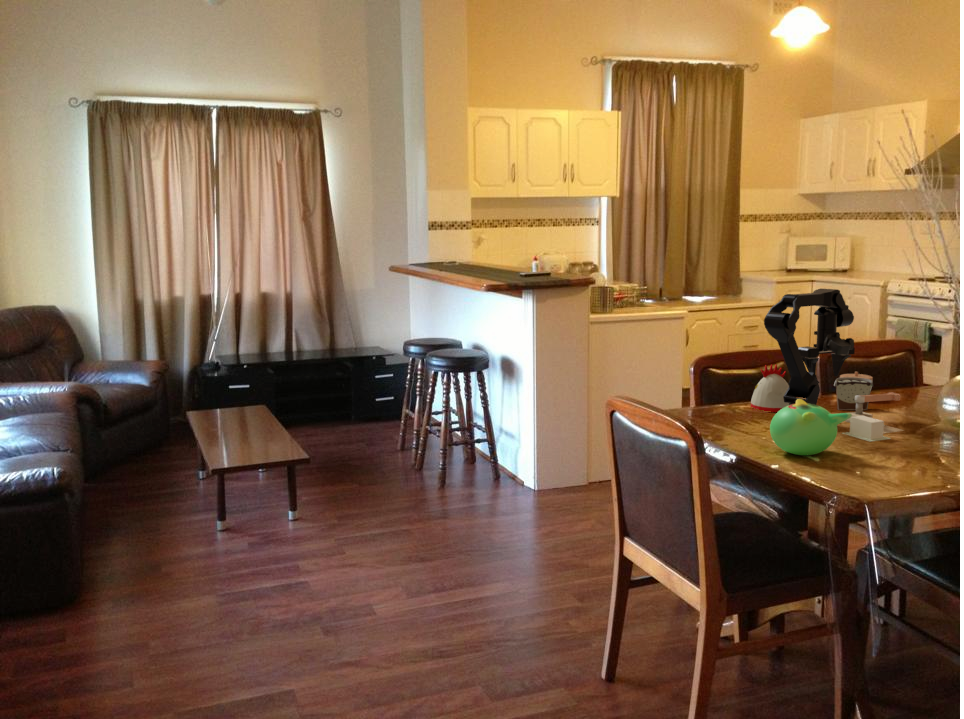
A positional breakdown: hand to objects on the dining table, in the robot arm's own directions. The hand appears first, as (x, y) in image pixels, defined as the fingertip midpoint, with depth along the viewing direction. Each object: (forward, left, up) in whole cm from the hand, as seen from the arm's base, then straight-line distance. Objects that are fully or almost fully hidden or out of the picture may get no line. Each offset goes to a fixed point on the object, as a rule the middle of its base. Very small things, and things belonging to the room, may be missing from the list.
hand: (824, 377), depth 284 cm
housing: (+4, -17, -13) cm, 22 cm away
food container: (+18, +7, -13) cm, 23 cm away
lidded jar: (+32, +19, -13) cm, 39 cm away
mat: (-7, -25, -13) cm, 29 cm away
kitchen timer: (-5, +18, -13) cm, 23 cm away
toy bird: (-36, -32, -13) cm, 50 cm away
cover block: (-7, -25, -13) cm, 29 cm away
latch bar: (+10, -12, -6) cm, 17 cm away
